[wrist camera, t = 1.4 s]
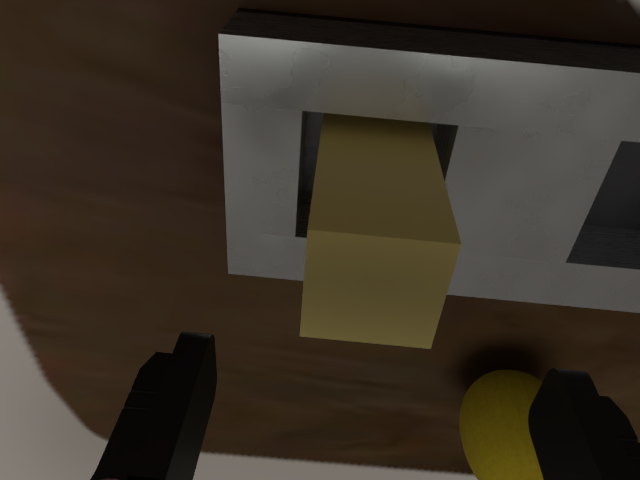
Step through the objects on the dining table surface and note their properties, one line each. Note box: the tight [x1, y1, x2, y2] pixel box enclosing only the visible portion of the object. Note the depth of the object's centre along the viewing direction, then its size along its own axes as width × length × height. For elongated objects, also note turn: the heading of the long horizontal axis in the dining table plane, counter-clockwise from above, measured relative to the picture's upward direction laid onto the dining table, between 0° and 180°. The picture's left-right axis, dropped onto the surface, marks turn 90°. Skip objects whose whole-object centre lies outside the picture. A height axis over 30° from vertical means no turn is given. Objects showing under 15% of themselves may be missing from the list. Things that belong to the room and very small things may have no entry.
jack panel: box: [218, 8, 640, 313], centre depth 21 cm, size 10×22×4 cm, turn 86°
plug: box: [300, 113, 461, 349], centre depth 18 cm, size 5×4×9 cm
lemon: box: [459, 369, 544, 480], centre depth 27 cm, size 6×6×8 cm
